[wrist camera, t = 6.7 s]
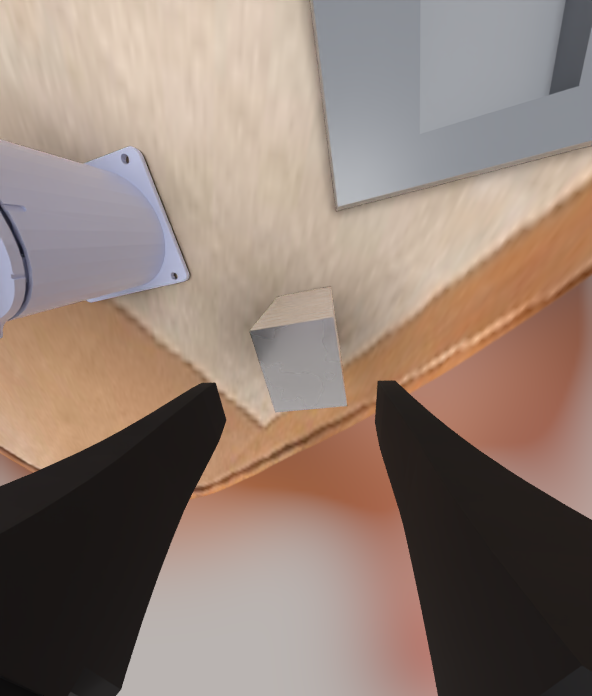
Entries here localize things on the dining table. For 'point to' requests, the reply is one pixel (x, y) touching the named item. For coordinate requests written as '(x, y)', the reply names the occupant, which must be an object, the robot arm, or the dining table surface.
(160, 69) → the dining table surface
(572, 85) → the pocket plate
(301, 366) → the block
